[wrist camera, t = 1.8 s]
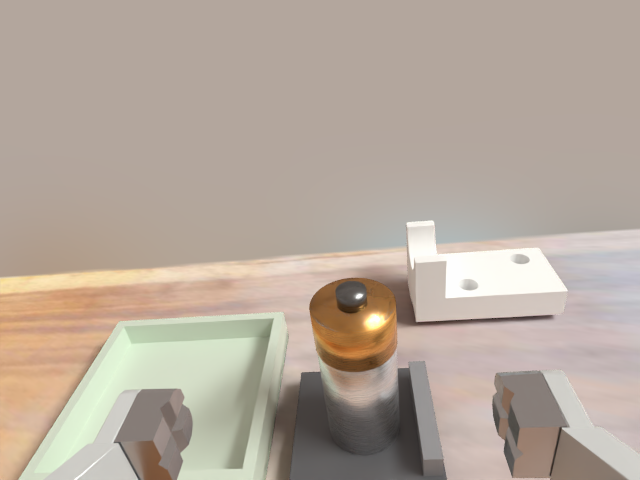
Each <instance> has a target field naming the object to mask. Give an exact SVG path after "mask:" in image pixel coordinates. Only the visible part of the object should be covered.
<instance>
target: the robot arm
mask: <svg viewBox="0 0 640 480" xmlns="http://www.w3.org/2000/svg"><path fill="white" fill-rule="evenodd" d="M494 384H495V387H496V390H497V393H496V394H495V395H494V396H493V404H492V406H493V417H494V421H495V426H496V429H497V432H498V435H499V436H500V437H501V438H502V439H504V440H505V446H504V454H505V457H506V460H507V463H508V466H509V469H510V472H511V475H512V478H550V480H640V454H638V453H637V452H636V451H634V450H633V449H631V448H630V447H629V446H627V445H626V444H624V443H623V442H622V441H620V440H619V439H617V438H616V437H615V436H613V435H612V434H610V433H609V432H608V431H606V430H605V429H603V428H602V427H594V426H593V424H592V422H591V420H590V419H589V417H588V415H587V413H586V411H585V409H584V408H583V406H582V404H581V402H580V400H579V398H578V397H577V395H576V393H575V391H574V389H573V387H572V386H571V384H570V382H569V380H568V378H567V376H566V375H565V373H564V372H563V371H562V370H542V371H520V372H503V373H497V374H496V376H495V381H494ZM184 398H185V397H184V395H183V393H182V391H181V389H177V388H176V389H138V390H124V391H123V392H122V393H120V394H119V396H118V398H117V400H116V402H115V403H114V405H113V407H112V409H111V411H110V413H109V415H108V416H107V418H106V420H105V422H104V424H103V426H102V428H101V429H100V431H99V433H98V435H97V437H96V439H95V441H94V442H93V444H87V445H86V446H84V447H83V448H82V449H81V450H79V451H78V452H77V453H76V454H74V455H73V456H72V457H71V458H70V459H68V460H67V461H66V462H65V463H63V464H62V465H61V466H60V467H58V468H57V469H56V470H55V471H53V472H52V473H51V474H50V475H49V476H47V477H46V478H45V479H44V480H177V478H178V475H179V472H180V469H181V466H182V463H183V459H182V456H181V454H180V453H181V452H182V451H183V450H184V449H185V448H186V447H187V446H188V445H189V442H190V439H191V436H192V427H193V421H192V415H191V412H190V409H189V408H187V407H186V406H185V405H183V404H182V403H183V401H184Z"/></svg>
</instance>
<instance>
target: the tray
mask: <svg viewBox="0 0 640 480" xmlns="http://www.w3.org/2000/svg"><path fill="white" fill-rule="evenodd" d="M287 343H288V331H287V326H286V321H285V316H284V312H274V313H256V314H239V315H221V316H203V317H186V318H168V319H150V320H133V321H119V323H118V324H117V326H116V327H115V329H114V330H113V332H112V334H111V335H110V337H109V338H108V340H107V341H106V343H105V345H104V346H103V348H102V349H101V351H100V352H99V354H98V355H97V357H96V359H95V360H94V362H93V363H92V365H91V366H90V368H89V370H88V371H87V373H86V374H85V376H84V377H83V379H82V381H81V382H80V384H79V385H78V387H77V388H76V390H75V392H74V393H73V395H72V396H71V398H70V399H69V401H68V403H67V404H66V406H65V407H64V409H63V410H62V412H61V414H60V415H59V417H58V418H57V420H56V421H55V423H54V424H53V426H52V428H51V429H50V431H49V432H48V434H47V435H46V437H45V439H44V440H43V442H42V443H41V445H40V446H39V448H38V450H37V451H36V453H35V454H34V456H33V457H32V459H31V461H30V462H29V464H28V465H27V467H26V468H25V470H24V472H23V473H22V475H21V476H20V478H19V479H18V480H44V479H45V478H46V477H47V476H49V475H50V474H51V473H52V472H53V471H55V470H56V469H57V468H58V467H60V466H61V465H62V464H63V463H65V462H66V461H67V460H68V459H70V458H71V457H72V456H73V455H74V454H76V453H77V452H78V451H79V450H81V449H82V448H83V447H84V446H86V445H87V444H93V442H94V441H95V439H96V437H97V435H98V433H99V431H100V429H101V428H102V426H103V424H104V422H105V420H106V418H107V416H108V415H109V413H110V411H111V409H112V407H113V405H114V403H115V402H116V400H117V398H118V396H119V394H120V393H122V392H123V391H124V390H138V389H176V388H177V389H181V391H182V393H183V395H184V397H185V398H184V401H183V403H182V404H183V405H185V406H186V407H187V408H189V409H190V412H191V415H192V421H193V427H192V436H191V439H190V442H189V445H188V446H187V447H186V448H185V449H184V450H183V451H182V452H181V453H180V454H181V456H182V459H183V463H182V466H181V469H180V472H179V475H178V478H177V480H266V474H267V468H268V462H269V455H270V449H271V443H272V437H273V430H274V424H275V418H276V412H277V405H278V399H279V393H280V387H281V380H282V374H283V368H284V361H285V355H286V349H287Z"/></svg>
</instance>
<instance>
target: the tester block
mask: <svg viewBox="0 0 640 480" xmlns="http://www.w3.org/2000/svg"><path fill="white" fill-rule="evenodd" d="M398 390H399V415H400V430H399V434H398V436H397V438H396V440H395V442H394V443H393V444H392V445H391V446H390V447H389V448H387V449H386V450H384V451H382V452H380V453H378V454H374V455H368V456H361V455H355V454H352V453H349V452H347V451H345V450H344V449H342V448H341V447H340V446H339V445H338V444H337V443H336V442H335V441H334V439H333V437H332V435H331V431H330V426H329V420H328V414H327V408H326V402H325V396H324V389H323V383H322V377H321V372H303V373H301V382H300V391H299V400H298V409H297V417H296V426H295V435H294V444H293V453H292V461H291V470H290V479H289V480H447V478H446V472H445V467H444V462H443V460H444V459H443V454H442V449H441V443H440V438H439V433H438V428H437V423H436V417H435V412H434V407H433V402H432V397H431V391H430V386H429V381H428V376H427V370H426V365H425V361H416V362H409V368H398Z"/></svg>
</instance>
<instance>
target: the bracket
mask: <svg viewBox="0 0 640 480" xmlns="http://www.w3.org/2000/svg"><path fill="white" fill-rule="evenodd" d="M406 230H407V276H408V287H409V292H410V297H411V302H412V303H413V308H414V313H415V318H416V322H426V321H445V320H464V319H482V318H501V317H520V316H538V315H557V314H563V313H564V308H565V303H566V298H567V294H568V290H567V289H566V287H565V286H564V284H563V283H562V281H561V280H560V278H559V277H558V276H557V274H556V273H555V271H554V270H553V268H552V267H551V265H550V264H549V262H548V261H547V259H546V258H545V256H544V255H543V253H542V252H541V250H540V249H539V248H525V249H510V250H495V251H481V252H466V253H451V254H437V251H436V242H435V224H434V221H420V222H407V223H406Z"/></svg>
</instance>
